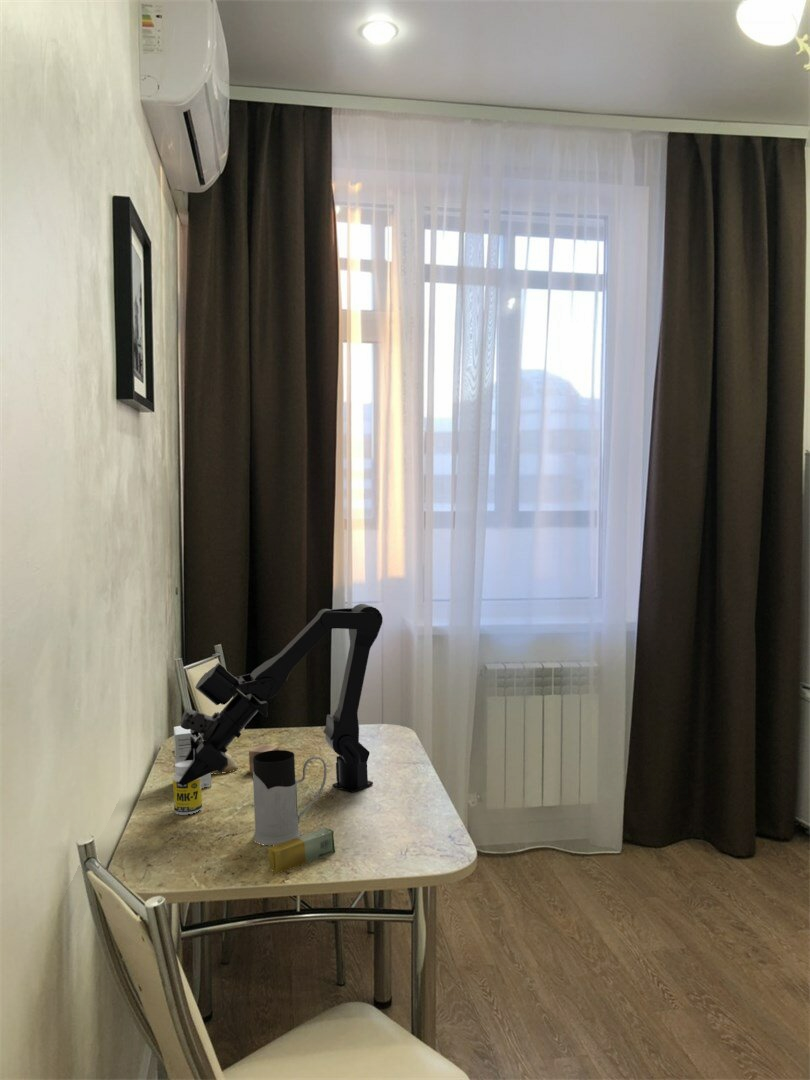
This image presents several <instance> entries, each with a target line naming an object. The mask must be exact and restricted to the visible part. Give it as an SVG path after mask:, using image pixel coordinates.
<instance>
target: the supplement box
mask: <svg viewBox="0 0 810 1080" xmlns="http://www.w3.org/2000/svg"><path fill="white" fill-rule="evenodd" d="M190 731H191V730H190V729H188V730H187V729H184V728H182V727H181V725H177V726H173V742H174V743H173V745H174V761H175V763H174V765H175V764H176V763H178V762H181V761H184V760H185V758H186V756H187V754H188V752H189V750H190V736H191V737H192V738H194V737H195V736H196V735H192V734H191V732H190ZM208 786H211V787H212V774H211V773H209V774H206V775H204V776H202V777H201V788H202V789H204V788H203V787H207V788H209V787H208Z"/></svg>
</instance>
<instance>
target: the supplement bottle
mask: <svg viewBox="0 0 810 1080" xmlns="http://www.w3.org/2000/svg"><path fill="white" fill-rule="evenodd" d="M192 761H193V760H187V761H181V762H178V763H176V764H175V763H174V773H175V774H174V775H173V778H172V785H173V786H172V787H173V788H172V789H173V812H174V813H175V814H176V815H178V814H179V815H178V816H189V815H188V814H190V815H194V814H193V813H195V814H197V813H196V812H198V811H199V810H201V811H202V809H203V798H202V797H203V793H202V789H203V788H201V777H200V778H198V779H196V780H194V781H192V782H190V783H188V784H186V785H184V786H182V785H181V784H180V783H179V781H180V779H181V778H182V776H183V775H184V773H185V772H186V770H187V768H188V767H189V765H190V764H191V762H192ZM199 812H200V811H199ZM199 812H198V813H199Z"/></svg>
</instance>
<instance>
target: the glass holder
mask: <svg viewBox="0 0 810 1080" xmlns="http://www.w3.org/2000/svg"><path fill="white" fill-rule="evenodd" d="M313 760H320V761H321V762H322V763H323V768H324V770H323V779H322V783H321V786H320V788H319V791H318V792H317V794H316V795H315V796H314V798H313V799H312V800H311V801H310V803H308V804H307V805H306V807H305V808H303V809H302V810H301V812H300V813H299V811H298V788H297V784H300V783H302V782H304V781H305V780H306V779H305V778H306V769H307V766H308V764H309V762H311V761H313ZM253 765H254V771H253V772H252V781H253V782H252V783H253V786H252V787H253V804H254V806H253V808H254V810H253V811H254V827H255V831H254V835H253V838H254V840H255V841H256V842H258V843H260V844H264V845H277V844H280V843H283V842H286V841H289V840H291V839H294V838H297V837H300V835H301V836H302V831H301V829H299V828H300V827H299V824H300V820H301V817H302V816H303V815H304V814H305V813H306V812H307V811H308V809H309V808H310V807H311V806H313V804H314V803H315V802H316V801H317V800H318V799H319V797H320V796H321V794H322V792H323V790H324V787H325V784H326V781H327V769H328V768H327V763H326V762H325V760H324V759H323V758H321V757H319V756H311V757H309V758H308V759H306V761H305V762H304V764H303V768H302V776H301V777H302V778H301V779H298V780H296V771H295V770H296V768H295V767H296V766H295V765H296V763H295V753H294V752H292V751H290V750H282V749H279V750H272V751H266V752H262V753H259V754H257V755H255V756H254V757H253ZM298 813H299V814H298ZM253 838H252V839H253ZM254 840H253V841H254ZM256 842H255V843H256ZM260 844H259V845H260ZM264 845H263V846H264Z"/></svg>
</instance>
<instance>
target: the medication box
mask: <svg viewBox="0 0 810 1080" xmlns="http://www.w3.org/2000/svg"><path fill="white" fill-rule="evenodd" d="M334 834H335V832H334V830H333V829H330V828H328V827H324V828H320V829H318V830H315V831H312V832H309V833H306V834H303V835H301V836H300V837H297V838H294V839H291V840H289V841H286V842H283V843H280V844H277V845H274V846H267V847H268V848H267V851H268V864H269V867H268V870H270V869H271V870H270V871H272V870H273V871H274V872H273V871H272V872H273V873H275V872H280V873H282V872H285V871H288V870H291V869H294V868H296V867H299V866H302V865H304V864H307V863H310V862H314V861H316V860H318V859H321V858H325V857H327V856H330V855H332V854H334V853H335V854H336V848H335V838H334V837H335V835H334ZM293 867H294V868H293ZM290 868H291V869H290ZM287 869H288V870H287ZM284 870H285V871H284ZM281 871H282V872H281Z"/></svg>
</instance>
